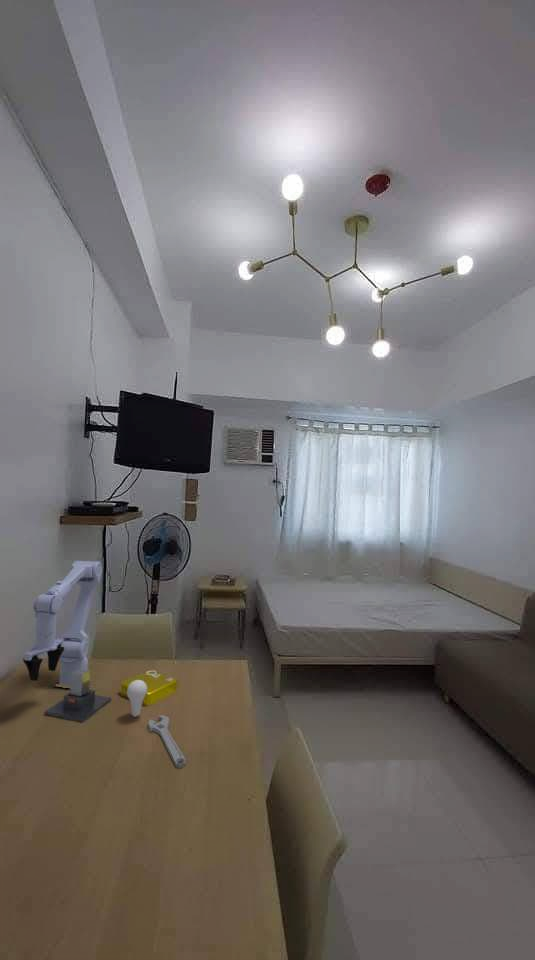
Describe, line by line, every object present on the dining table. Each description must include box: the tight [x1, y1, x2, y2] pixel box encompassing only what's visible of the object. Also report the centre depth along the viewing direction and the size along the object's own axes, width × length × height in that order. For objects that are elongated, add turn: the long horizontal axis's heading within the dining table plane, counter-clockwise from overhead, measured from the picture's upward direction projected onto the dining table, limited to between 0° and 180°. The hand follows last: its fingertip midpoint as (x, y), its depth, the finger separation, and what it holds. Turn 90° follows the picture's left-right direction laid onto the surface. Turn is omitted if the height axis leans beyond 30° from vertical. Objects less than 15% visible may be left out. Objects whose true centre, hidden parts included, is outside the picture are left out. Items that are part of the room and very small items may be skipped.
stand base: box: [43, 688, 112, 723], centre depth 134 cm, size 14×14×5 cm
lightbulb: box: [127, 680, 147, 717], centre depth 130 cm, size 6×6×11 cm
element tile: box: [119, 669, 179, 706], centre depth 146 cm, size 15×15×5 cm
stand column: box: [69, 668, 91, 698], centre depth 134 cm, size 4×4×8 cm
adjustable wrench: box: [147, 714, 186, 769], centre depth 117 cm, size 25×6×2 cm, turn 25°
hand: (43, 674), depth 133 cm, fingers open, 7 cm apart
